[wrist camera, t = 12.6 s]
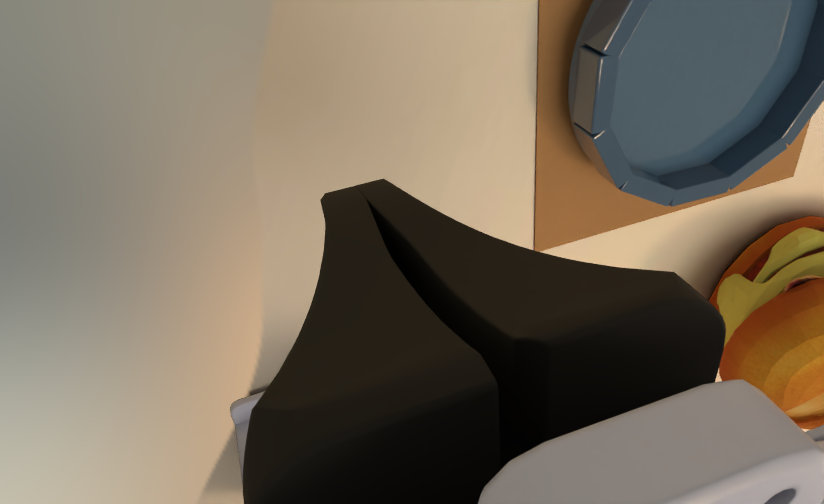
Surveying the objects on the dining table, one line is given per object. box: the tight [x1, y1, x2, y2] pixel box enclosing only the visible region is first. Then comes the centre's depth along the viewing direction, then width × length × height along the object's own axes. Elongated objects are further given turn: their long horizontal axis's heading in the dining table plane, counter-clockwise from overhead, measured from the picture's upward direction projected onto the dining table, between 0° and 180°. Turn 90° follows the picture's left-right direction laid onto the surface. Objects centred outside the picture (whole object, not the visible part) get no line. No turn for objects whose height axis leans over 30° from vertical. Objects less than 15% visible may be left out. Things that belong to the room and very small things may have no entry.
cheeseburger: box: [709, 216, 824, 430], centre depth 32 cm, size 10×11×10 cm
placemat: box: [534, 0, 811, 252], centre depth 24 cm, size 14×16×1 cm
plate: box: [568, 0, 824, 207], centre depth 23 cm, size 11×11×2 cm
